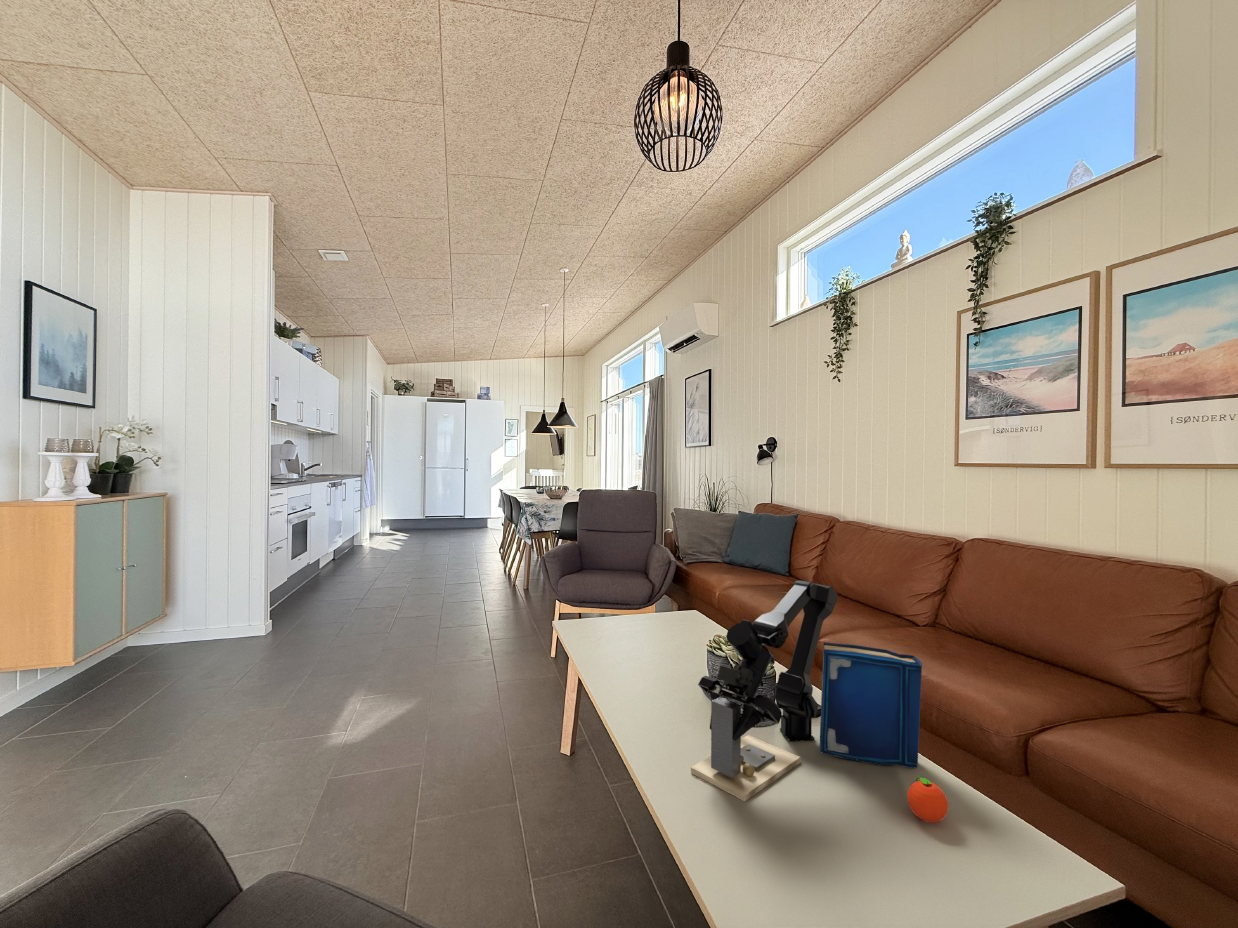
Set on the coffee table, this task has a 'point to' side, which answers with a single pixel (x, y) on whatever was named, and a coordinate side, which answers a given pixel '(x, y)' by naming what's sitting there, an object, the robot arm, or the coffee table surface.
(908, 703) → the book
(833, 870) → the coffee table surface
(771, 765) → the board
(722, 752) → the grey block
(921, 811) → the clementine
